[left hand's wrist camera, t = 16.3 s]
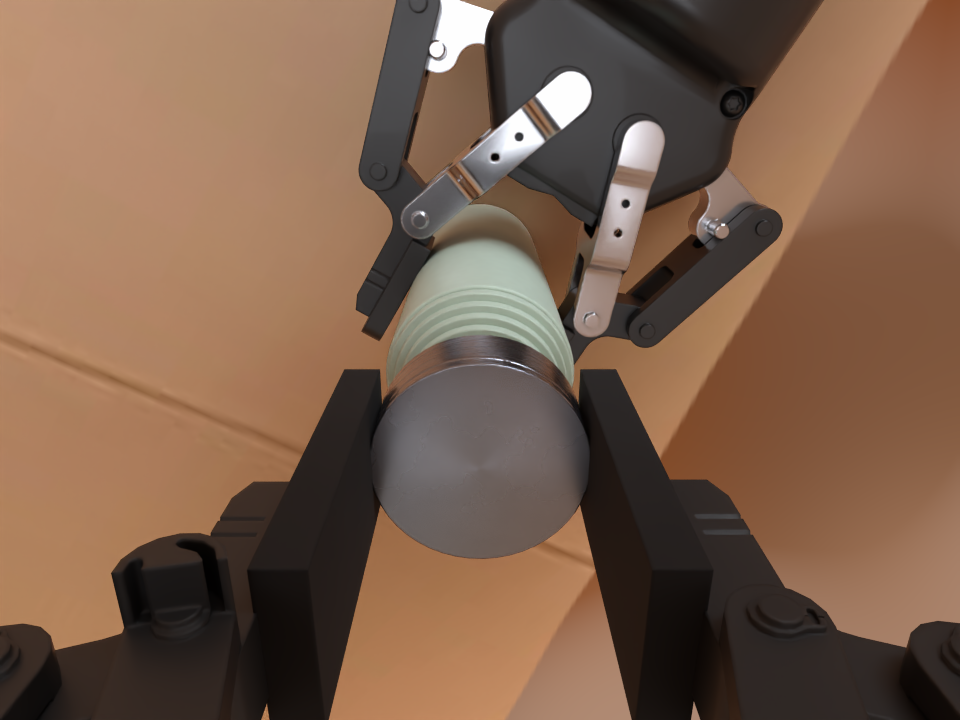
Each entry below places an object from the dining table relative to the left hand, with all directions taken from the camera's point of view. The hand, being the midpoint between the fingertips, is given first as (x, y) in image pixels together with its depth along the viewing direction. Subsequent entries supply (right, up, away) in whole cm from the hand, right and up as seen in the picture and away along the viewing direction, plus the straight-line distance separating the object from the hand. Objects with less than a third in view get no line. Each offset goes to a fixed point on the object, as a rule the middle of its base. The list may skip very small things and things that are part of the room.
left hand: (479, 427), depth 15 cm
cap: (0, -1, -1) cm, 1 cm away
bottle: (0, +6, +15) cm, 16 cm away
